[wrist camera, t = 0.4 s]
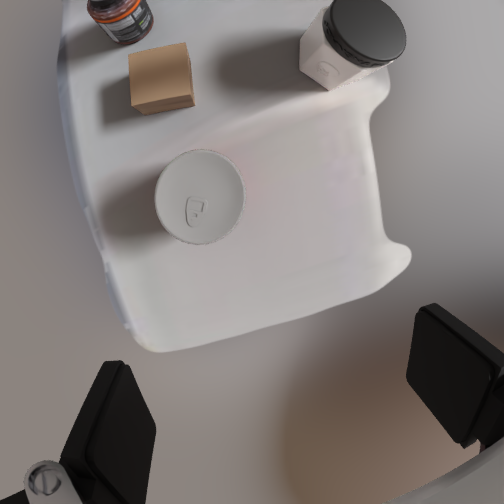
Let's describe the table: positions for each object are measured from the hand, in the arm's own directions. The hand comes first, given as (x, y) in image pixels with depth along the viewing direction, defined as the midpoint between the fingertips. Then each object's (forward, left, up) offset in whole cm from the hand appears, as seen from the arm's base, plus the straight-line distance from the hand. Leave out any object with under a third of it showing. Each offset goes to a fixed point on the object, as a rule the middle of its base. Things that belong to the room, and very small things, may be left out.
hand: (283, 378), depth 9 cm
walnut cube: (-17, -6, -29) cm, 34 cm away
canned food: (-4, -3, -29) cm, 29 cm away
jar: (-19, +14, -29) cm, 37 cm away
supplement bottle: (-27, -10, -29) cm, 41 cm away
